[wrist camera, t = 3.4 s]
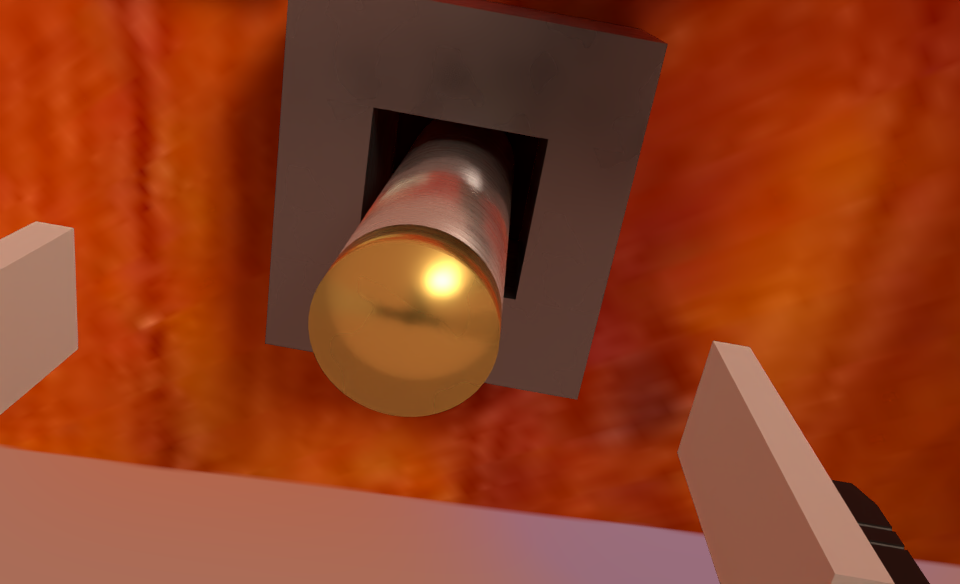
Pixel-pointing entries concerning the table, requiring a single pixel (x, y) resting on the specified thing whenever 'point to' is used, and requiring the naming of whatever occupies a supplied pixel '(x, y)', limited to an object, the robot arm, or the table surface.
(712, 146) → the table surface
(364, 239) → the gold capped cylinder
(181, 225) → the table surface
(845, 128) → the table surface
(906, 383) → the table surface
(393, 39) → the block
